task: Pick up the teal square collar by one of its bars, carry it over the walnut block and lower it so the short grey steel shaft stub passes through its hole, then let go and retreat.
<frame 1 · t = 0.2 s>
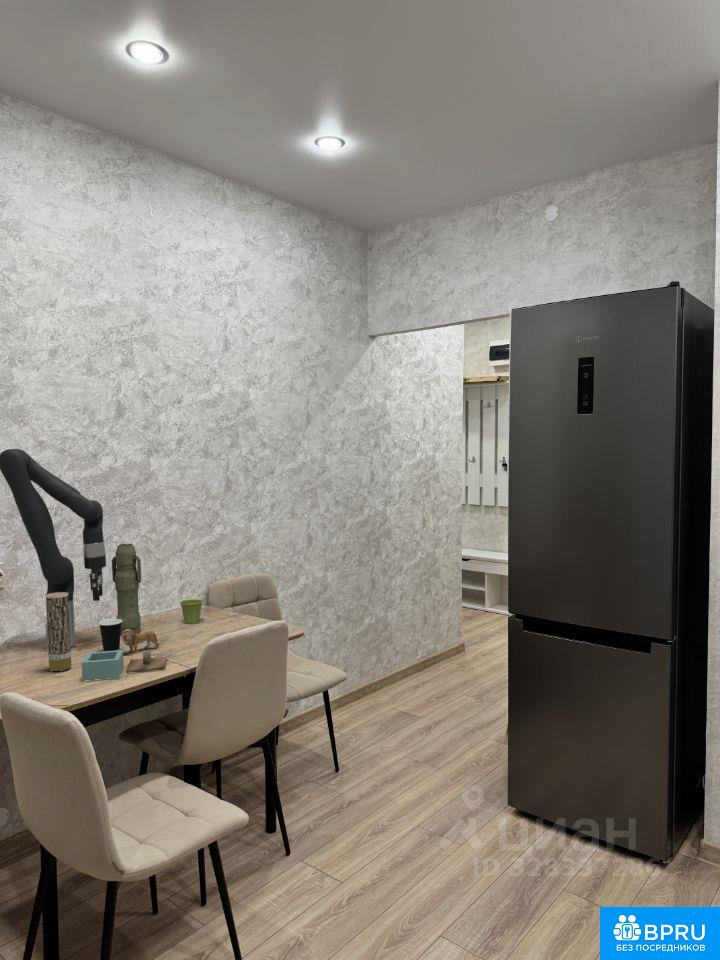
hand: (98, 598, 260), 17 cm above the table, tool pointing down, fingers open, 8 cm apart
thermos: (128, 633, 277), on the table
collar: (103, 674, 226), on the table
shaft block: (147, 666, 233), on the table
paper tube: (60, 669, 232), on the table
dixie cup: (111, 652, 251), on the table
plant pot: (192, 622, 292), on the table
lion figurine: (140, 652, 251), on the table
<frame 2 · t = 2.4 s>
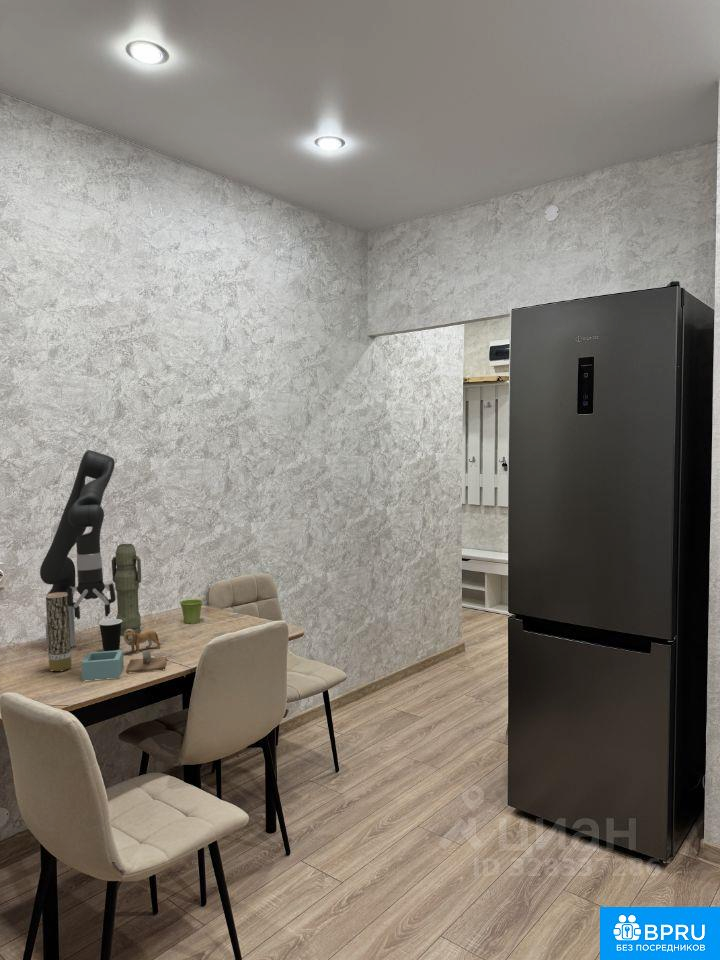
hand: (92, 617, 226), 18 cm above the table, tool pointing down, fingers open, 8 cm apart
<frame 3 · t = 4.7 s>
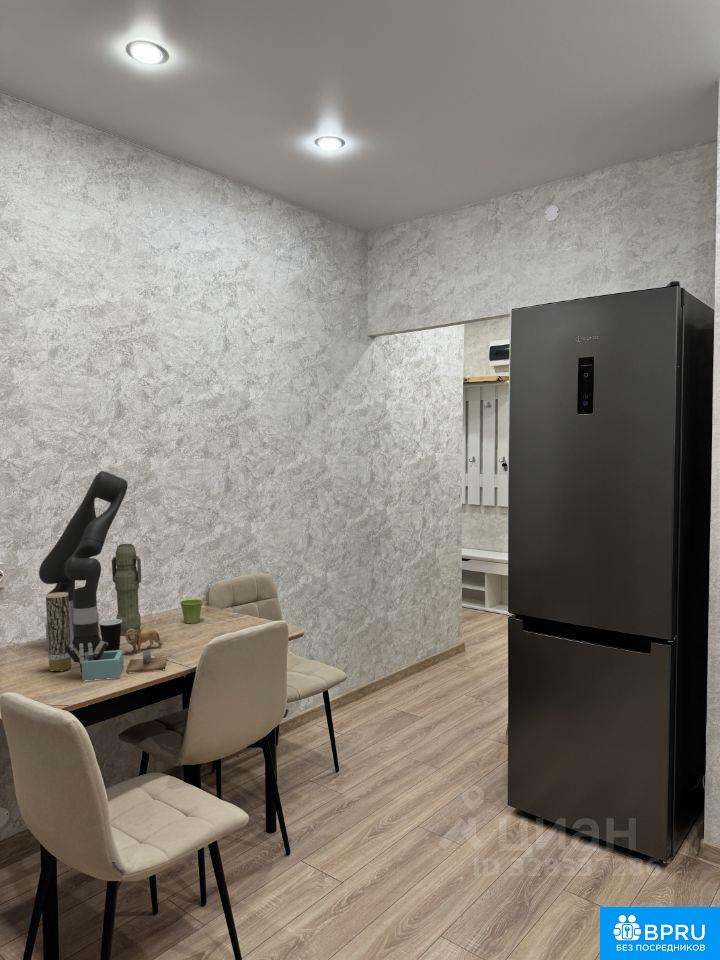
hand: (88, 673, 225), 1 cm above the table, tool pointing down, fingers closed on collar
collar: (103, 674, 226), on the table, touching gripper
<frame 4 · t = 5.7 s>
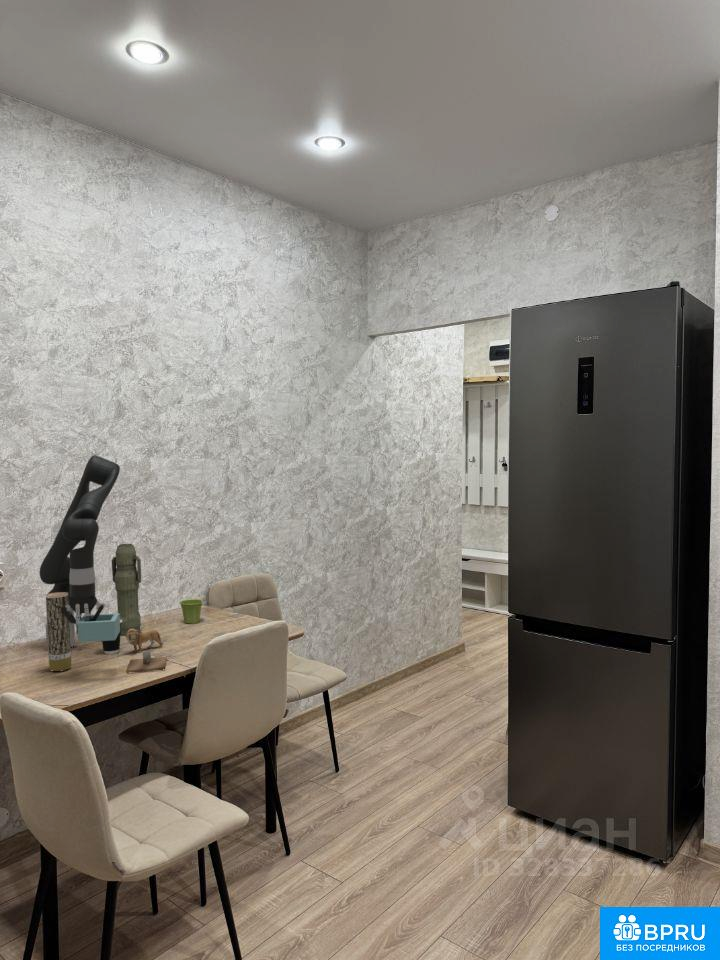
hand: (84, 635, 224), 13 cm above the table, tool pointing down, fingers closed on collar
collar: (99, 636, 225), point 12 cm above the table, touching gripper
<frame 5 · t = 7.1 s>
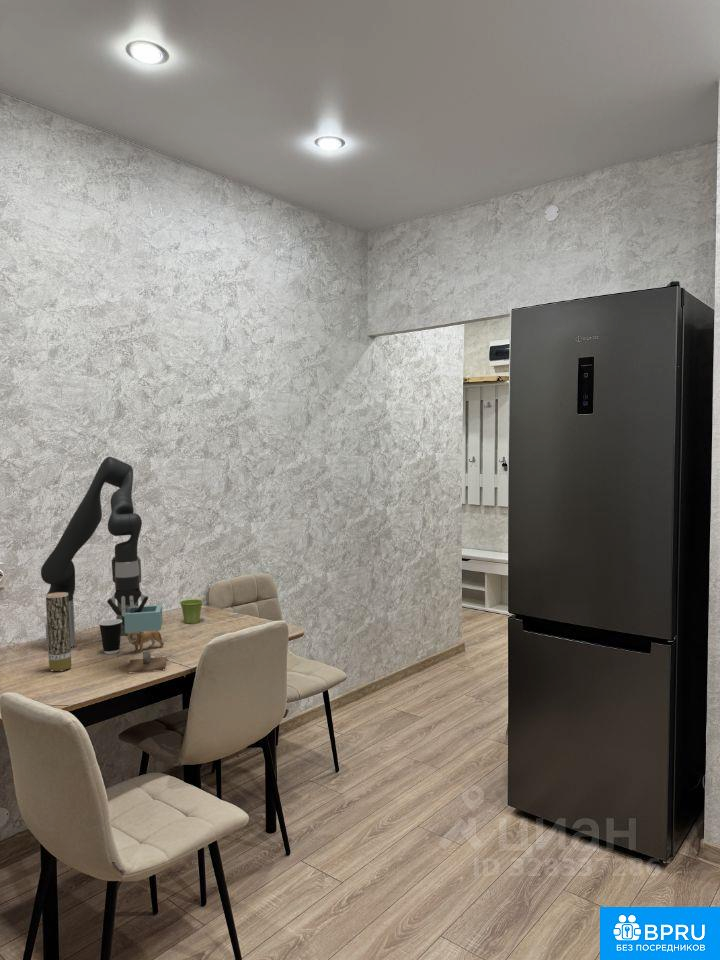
hand: (129, 626, 232), 14 cm above the table, tool pointing down, fingers closed on collar
collar: (144, 627, 232), point 13 cm above the table, touching gripper
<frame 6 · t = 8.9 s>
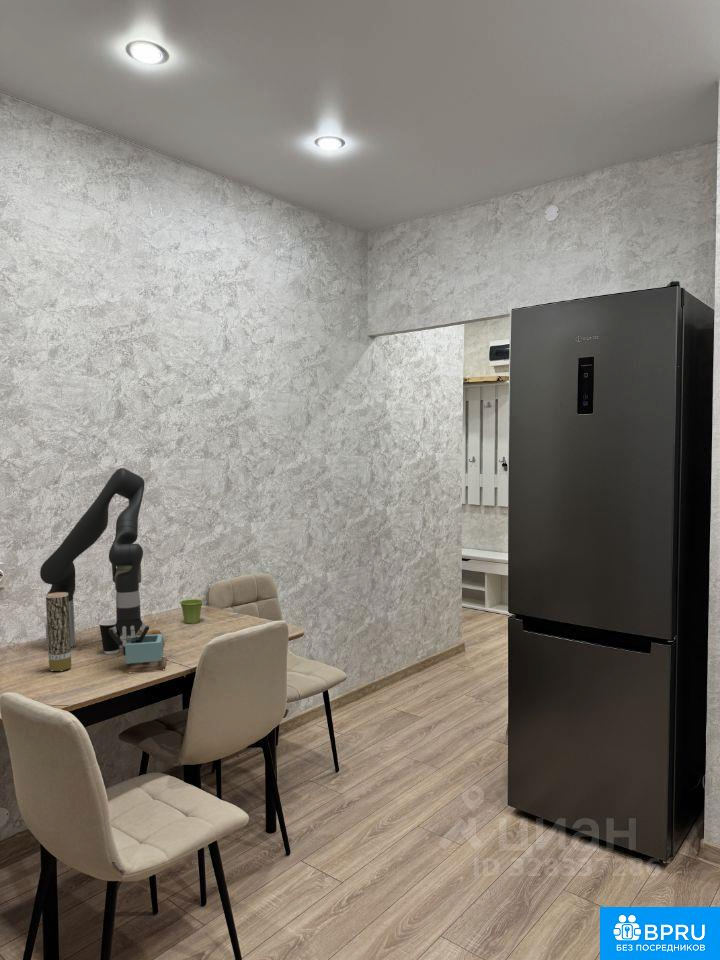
hand: (130, 656, 232), 4 cm above the table, tool pointing down, fingers closed on collar
collar: (145, 657, 233), point 3 cm above the table, touching gripper
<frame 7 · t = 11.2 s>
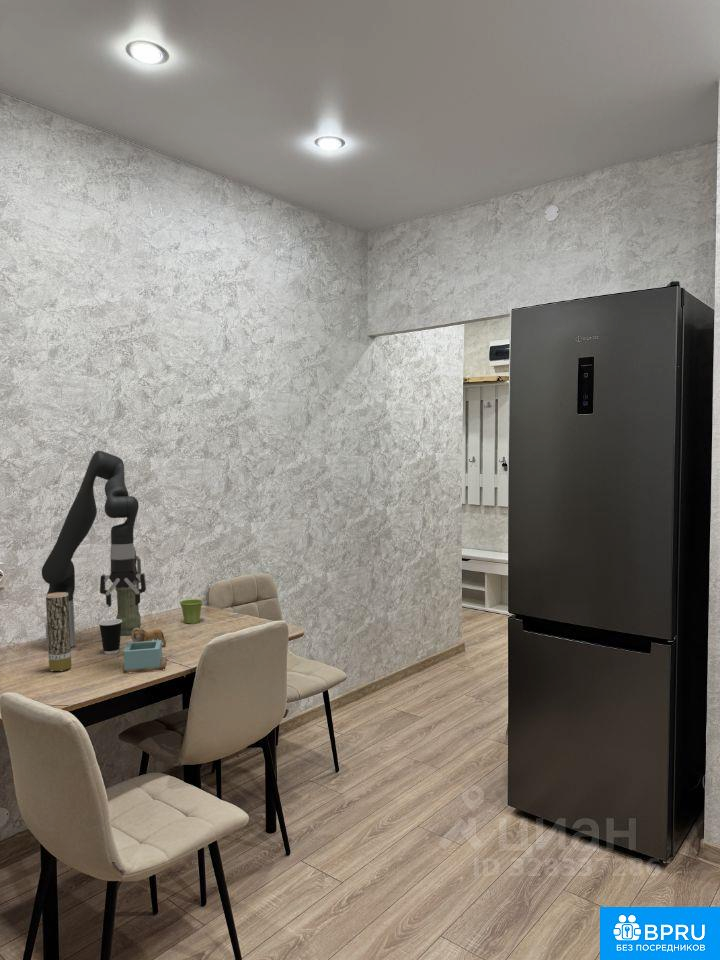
hand: (123, 605, 232), 20 cm above the table, tool pointing down, fingers open, 8 cm apart
collar: (143, 663, 233), point 1 cm above the table, touching shaft block
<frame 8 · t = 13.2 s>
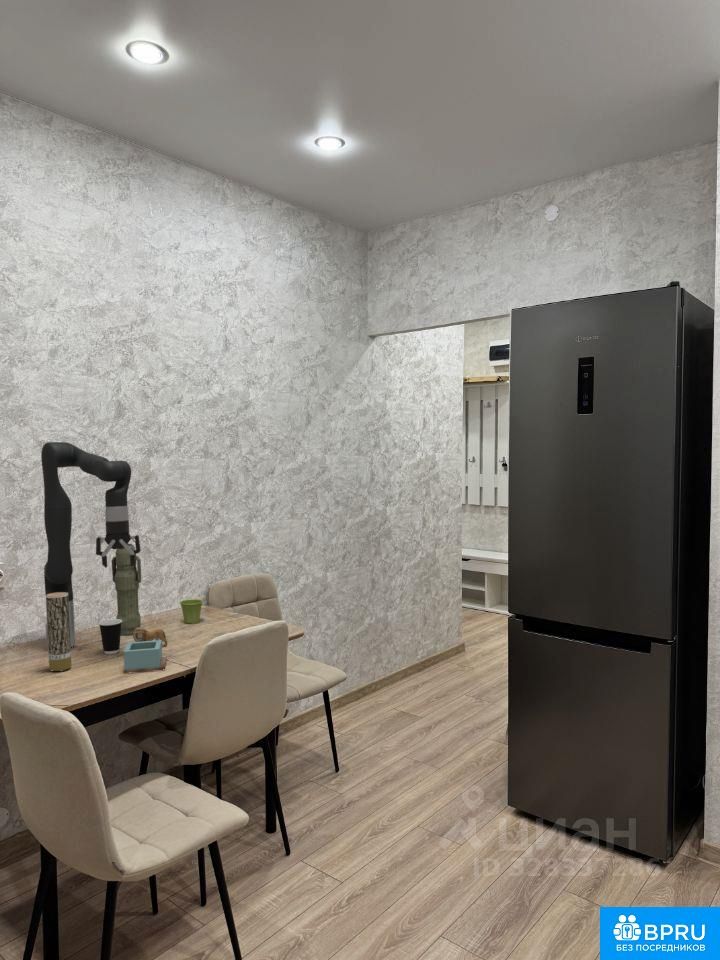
hand: (119, 566, 240), 32 cm above the table, tool pointing down, fingers open, 8 cm apart
at the end: collar 1.0 cm from the shaft block (horizontally); collar point 1.0 cm above the table; the gripper is holding nothing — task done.
